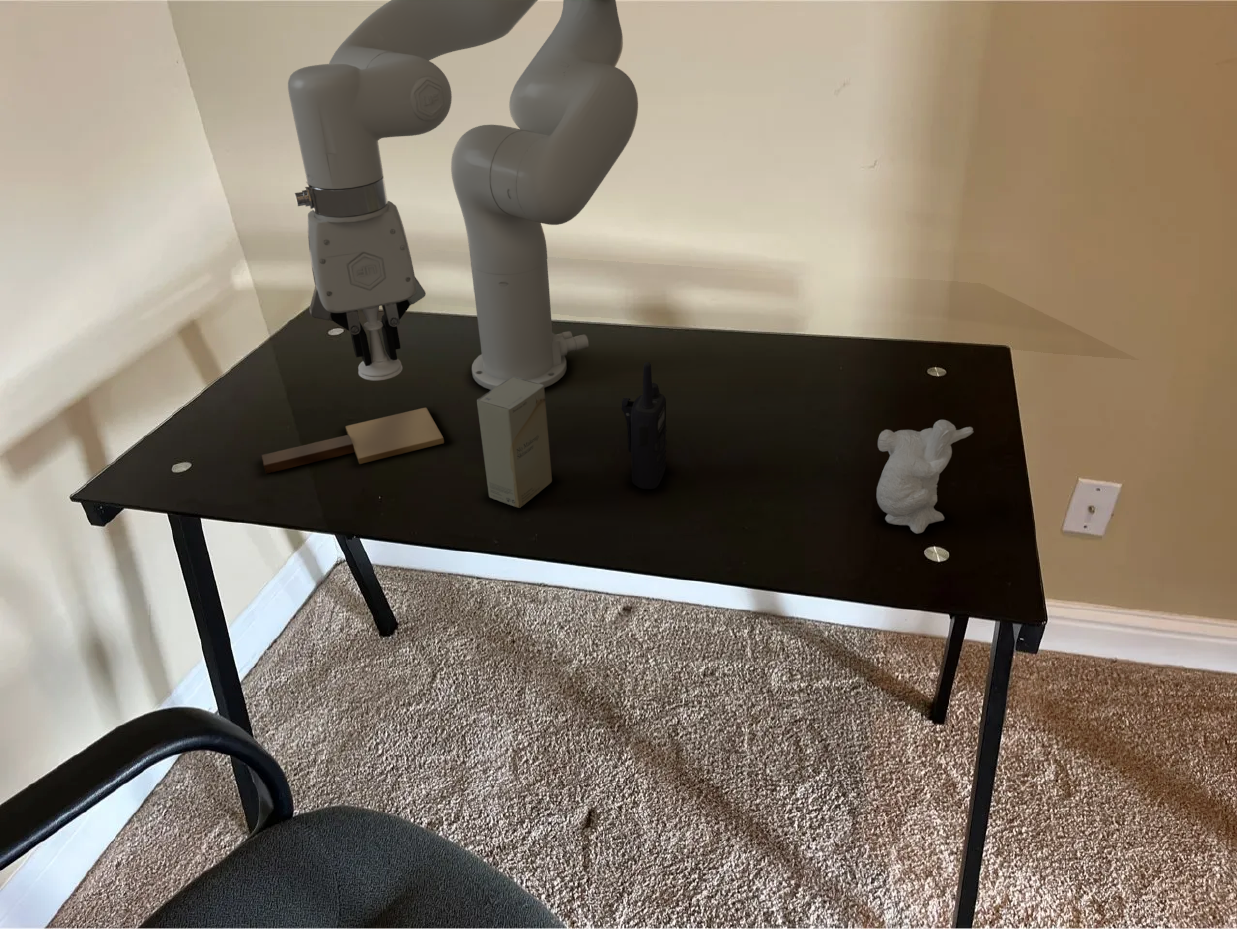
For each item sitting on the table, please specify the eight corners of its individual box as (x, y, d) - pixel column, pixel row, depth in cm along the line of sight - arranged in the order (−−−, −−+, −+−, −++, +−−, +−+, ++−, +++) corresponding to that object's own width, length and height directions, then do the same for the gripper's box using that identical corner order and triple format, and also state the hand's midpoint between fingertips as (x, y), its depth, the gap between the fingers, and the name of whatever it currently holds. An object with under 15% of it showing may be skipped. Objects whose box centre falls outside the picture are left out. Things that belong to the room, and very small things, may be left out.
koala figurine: (955, 510, 95) (977, 410, 89) (948, 548, 90) (971, 446, 84) (872, 494, 98) (887, 396, 91) (861, 530, 93) (877, 429, 86)
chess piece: (391, 382, 103) (378, 298, 97) (351, 378, 103) (335, 295, 98) (409, 362, 107) (397, 281, 101) (369, 359, 107) (355, 278, 102)
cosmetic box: (519, 510, 97) (509, 411, 90) (486, 498, 99) (474, 400, 93) (554, 480, 102) (546, 384, 95) (521, 469, 104) (512, 374, 97)
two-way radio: (656, 495, 99) (656, 371, 91) (617, 488, 100) (613, 366, 92) (669, 467, 103) (670, 346, 95) (631, 461, 104) (629, 342, 96)
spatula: (427, 412, 115) (425, 404, 114) (444, 443, 109) (443, 434, 108) (260, 451, 108) (258, 443, 108) (269, 487, 102) (266, 478, 101)
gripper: (272, 219, 88) (312, 388, 99) (435, 195, 94) (456, 357, 104) (263, 198, 94) (301, 359, 104) (417, 176, 99) (439, 331, 110)
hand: (378, 356), depth 104 cm, fingers closed on chess piece
